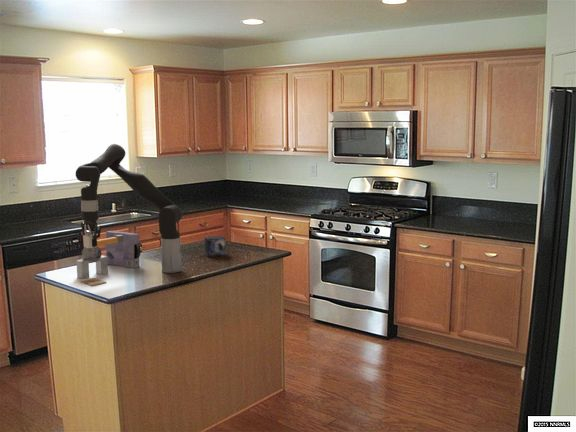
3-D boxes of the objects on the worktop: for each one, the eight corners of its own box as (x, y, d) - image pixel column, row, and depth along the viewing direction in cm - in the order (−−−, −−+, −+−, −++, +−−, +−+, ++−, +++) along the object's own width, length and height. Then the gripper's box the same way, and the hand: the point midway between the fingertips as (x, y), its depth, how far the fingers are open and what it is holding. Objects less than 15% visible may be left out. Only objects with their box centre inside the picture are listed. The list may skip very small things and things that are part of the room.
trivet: (106, 282, 277) (106, 281, 277) (92, 286, 271) (92, 284, 271) (94, 279, 283) (94, 277, 283) (81, 282, 278) (81, 280, 278)
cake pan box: (141, 266, 307) (140, 233, 304) (136, 268, 303) (134, 234, 299) (111, 262, 314) (110, 230, 311) (105, 264, 310) (104, 231, 307)
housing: (107, 273, 293) (106, 243, 291) (82, 279, 283) (80, 248, 280) (102, 271, 296) (101, 242, 294) (77, 277, 286) (75, 247, 283)
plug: (119, 240, 288) (118, 229, 287) (124, 241, 285) (124, 230, 284) (83, 246, 274) (83, 235, 273) (89, 248, 271) (88, 236, 270)
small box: (207, 257, 326) (207, 239, 324) (204, 255, 332) (204, 236, 330) (226, 255, 330) (225, 237, 329) (222, 253, 336) (222, 235, 334)
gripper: (74, 208, 273) (76, 244, 276) (90, 212, 264) (92, 249, 267) (88, 206, 279) (90, 242, 282) (105, 210, 269) (107, 246, 272)
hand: (91, 245), depth 274 cm, fingers closed on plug, 4 cm apart
